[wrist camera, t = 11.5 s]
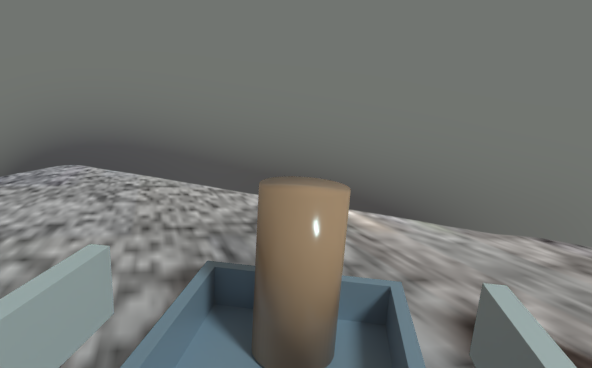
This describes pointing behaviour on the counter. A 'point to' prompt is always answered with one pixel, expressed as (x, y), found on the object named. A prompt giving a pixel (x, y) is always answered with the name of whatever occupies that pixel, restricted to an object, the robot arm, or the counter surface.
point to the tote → (239, 317)
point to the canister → (298, 271)
